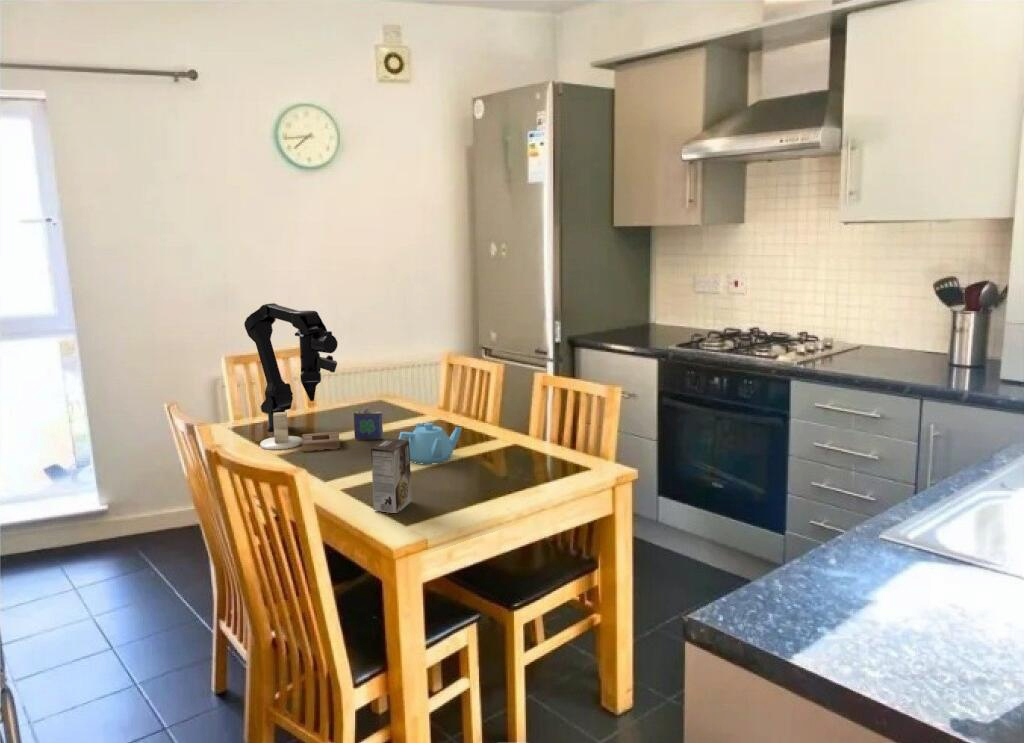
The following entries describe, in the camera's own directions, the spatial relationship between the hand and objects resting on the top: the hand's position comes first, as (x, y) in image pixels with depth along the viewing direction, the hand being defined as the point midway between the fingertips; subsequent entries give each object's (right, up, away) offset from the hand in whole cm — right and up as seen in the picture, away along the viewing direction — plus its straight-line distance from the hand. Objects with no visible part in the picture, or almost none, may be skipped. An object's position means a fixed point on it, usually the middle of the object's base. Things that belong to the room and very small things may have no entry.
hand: (312, 397), depth 250 cm
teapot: (+41, -17, -22) cm, 49 cm away
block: (-8, -14, -6) cm, 17 cm away
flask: (+19, -14, -1) cm, 23 cm away
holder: (+5, -15, -7) cm, 17 cm away
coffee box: (+36, -25, -60) cm, 74 cm away
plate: (-8, -14, -6) cm, 17 cm away
